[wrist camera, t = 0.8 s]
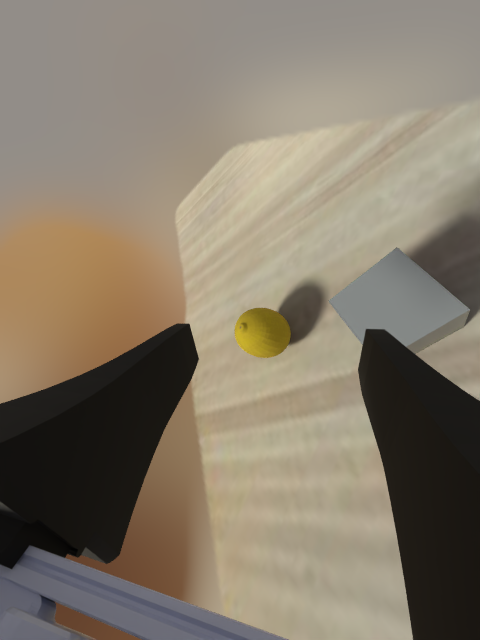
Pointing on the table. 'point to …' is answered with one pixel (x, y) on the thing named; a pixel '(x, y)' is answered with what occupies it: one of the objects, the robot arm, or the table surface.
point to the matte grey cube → (400, 303)
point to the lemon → (262, 332)
